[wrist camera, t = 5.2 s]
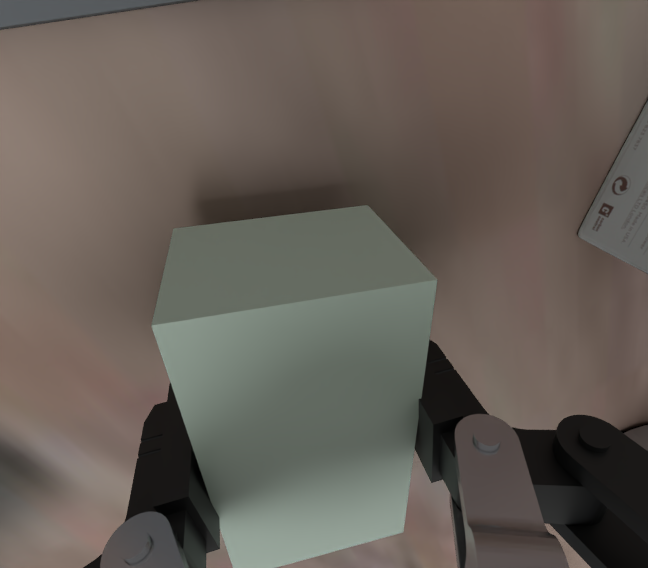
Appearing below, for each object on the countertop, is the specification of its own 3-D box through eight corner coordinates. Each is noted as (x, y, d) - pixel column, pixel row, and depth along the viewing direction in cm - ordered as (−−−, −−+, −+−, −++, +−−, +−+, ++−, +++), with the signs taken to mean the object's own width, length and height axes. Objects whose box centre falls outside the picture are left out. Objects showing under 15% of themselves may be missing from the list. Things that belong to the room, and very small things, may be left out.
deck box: (367, 204, 11) (437, 279, 7) (362, 426, 15) (403, 532, 12) (173, 228, 10) (150, 325, 6) (232, 455, 14) (236, 578, 11)
